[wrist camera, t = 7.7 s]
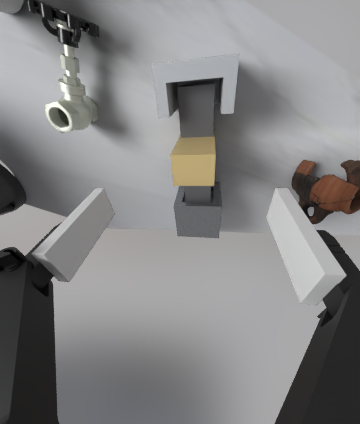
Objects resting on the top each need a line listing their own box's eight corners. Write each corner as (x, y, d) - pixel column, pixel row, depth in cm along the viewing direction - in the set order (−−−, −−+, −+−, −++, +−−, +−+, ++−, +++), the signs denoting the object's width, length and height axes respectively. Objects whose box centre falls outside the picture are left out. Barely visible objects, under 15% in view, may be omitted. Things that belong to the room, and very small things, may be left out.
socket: (171, 106, 25) (158, 118, 19) (168, 66, 22) (151, 63, 16) (227, 102, 23) (233, 113, 17) (231, 59, 21) (239, 53, 14)
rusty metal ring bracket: (309, 138, 25) (381, 151, 19) (338, 152, 30) (405, 166, 23) (269, 208, 30) (315, 237, 24) (299, 211, 35) (344, 236, 28)
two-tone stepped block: (187, 196, 32) (179, 235, 24) (180, 85, 21) (163, 92, 14) (211, 197, 31) (211, 237, 24) (216, 81, 21) (219, 87, 13)
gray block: (182, 211, 37) (177, 236, 31) (180, 182, 32) (173, 205, 27) (217, 212, 36) (218, 238, 30) (219, 182, 31) (221, 206, 26)
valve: (108, 130, 28) (110, 30, 21) (85, 143, 23) (77, 17, 16) (68, 116, 28) (55, 8, 20) (36, 125, 23) (3, -14, 15)
